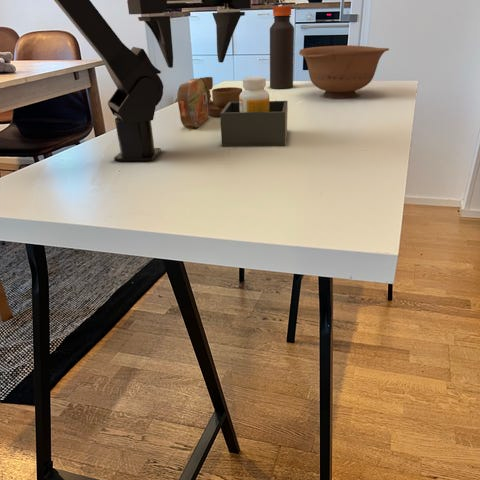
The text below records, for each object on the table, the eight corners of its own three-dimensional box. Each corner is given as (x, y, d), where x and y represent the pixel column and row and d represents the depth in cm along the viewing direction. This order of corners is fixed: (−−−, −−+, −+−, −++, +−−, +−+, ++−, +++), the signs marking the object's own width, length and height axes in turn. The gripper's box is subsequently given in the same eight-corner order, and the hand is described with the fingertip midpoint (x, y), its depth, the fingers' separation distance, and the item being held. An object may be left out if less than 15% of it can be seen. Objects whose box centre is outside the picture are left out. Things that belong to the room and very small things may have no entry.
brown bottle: (282, 85, 145) (282, 6, 134) (297, 86, 140) (299, 5, 129) (265, 87, 141) (264, 6, 130) (280, 89, 137) (281, 6, 126)
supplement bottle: (234, 136, 89) (232, 79, 83) (253, 131, 92) (252, 75, 87) (256, 140, 86) (255, 81, 80) (275, 134, 89) (275, 77, 84)
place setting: (184, 117, 108) (181, 89, 105) (202, 102, 124) (201, 77, 121) (261, 117, 105) (261, 87, 102) (270, 101, 122) (270, 75, 119)
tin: (193, 131, 96) (189, 85, 91) (178, 131, 96) (173, 85, 92) (211, 116, 108) (208, 75, 103) (198, 116, 109) (194, 75, 104)
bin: (285, 145, 84) (285, 112, 81) (221, 146, 85) (220, 113, 82) (287, 131, 93) (287, 100, 90) (230, 132, 94) (228, 101, 91)
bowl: (304, 104, 116) (305, 53, 110) (292, 91, 134) (293, 46, 128) (394, 100, 116) (401, 49, 110) (370, 87, 134) (375, 42, 128)
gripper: (216, -51, 79) (221, 57, 88) (106, -51, 71) (124, 66, 80) (252, -58, 71) (254, 61, 80) (133, -60, 63) (150, 72, 72)
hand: (196, 64), depth 78 cm, fingers open, 9 cm apart
